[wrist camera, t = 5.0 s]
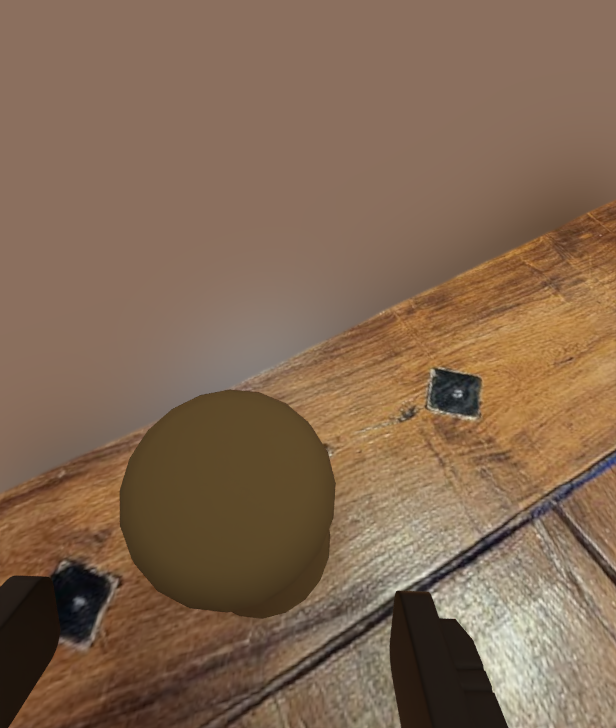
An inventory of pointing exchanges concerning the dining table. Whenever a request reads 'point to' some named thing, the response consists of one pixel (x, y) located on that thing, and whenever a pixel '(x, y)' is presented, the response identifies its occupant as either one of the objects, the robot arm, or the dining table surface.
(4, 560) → the dining table surface
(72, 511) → the dining table surface
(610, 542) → the dining table surface
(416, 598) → the robot arm
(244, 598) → the cork
